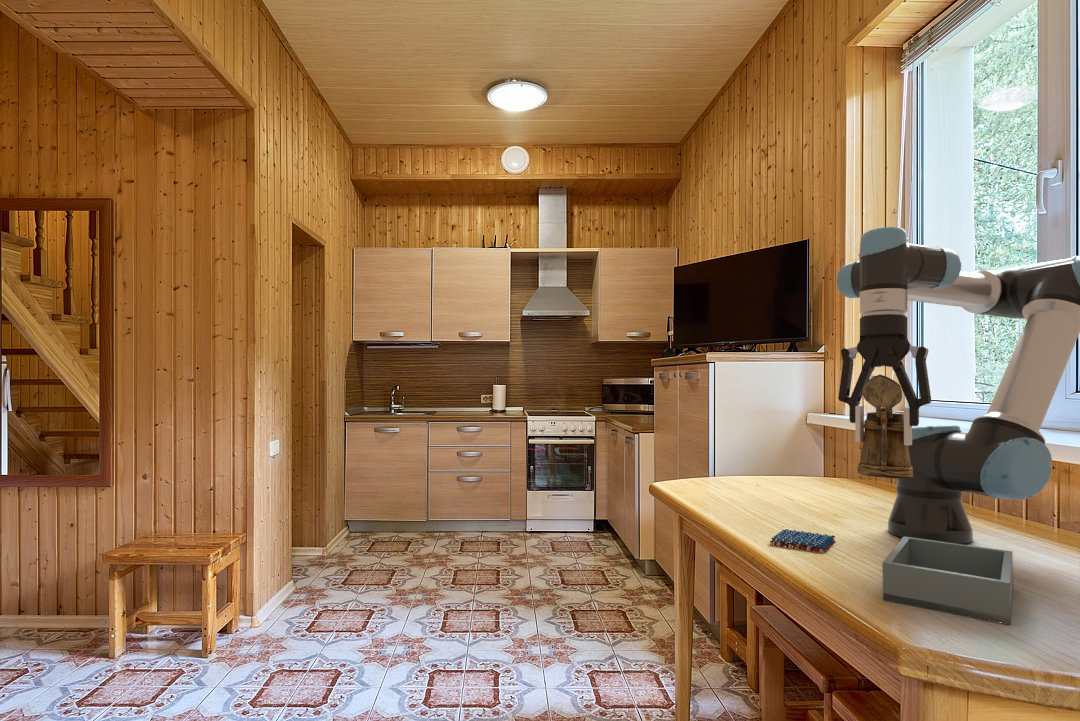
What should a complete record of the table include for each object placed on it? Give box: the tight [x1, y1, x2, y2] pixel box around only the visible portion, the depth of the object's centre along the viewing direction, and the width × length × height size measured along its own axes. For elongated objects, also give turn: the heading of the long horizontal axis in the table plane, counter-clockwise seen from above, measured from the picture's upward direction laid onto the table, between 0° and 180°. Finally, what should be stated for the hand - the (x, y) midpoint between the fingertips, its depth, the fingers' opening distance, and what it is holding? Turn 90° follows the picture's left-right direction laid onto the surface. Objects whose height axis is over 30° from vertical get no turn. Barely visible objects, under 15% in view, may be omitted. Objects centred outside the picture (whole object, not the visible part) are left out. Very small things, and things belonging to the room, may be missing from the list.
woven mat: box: [769, 528, 836, 554], centre depth 123 cm, size 10×11×2 cm
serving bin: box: [882, 536, 1014, 626], centre depth 94 cm, size 20×15×6 cm
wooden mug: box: [856, 374, 913, 479], centre depth 110 cm, size 9×14×18 cm, turn 146°
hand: (883, 443), depth 109 cm, fingers closed on wooden mug, 7 cm apart
